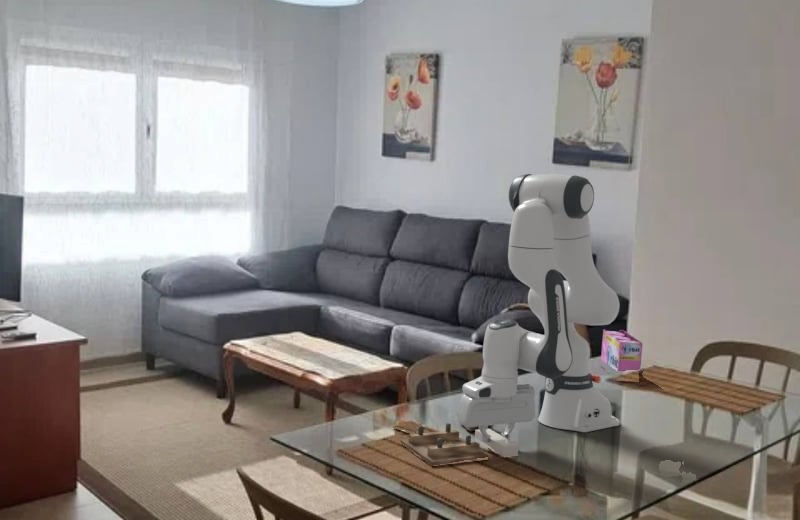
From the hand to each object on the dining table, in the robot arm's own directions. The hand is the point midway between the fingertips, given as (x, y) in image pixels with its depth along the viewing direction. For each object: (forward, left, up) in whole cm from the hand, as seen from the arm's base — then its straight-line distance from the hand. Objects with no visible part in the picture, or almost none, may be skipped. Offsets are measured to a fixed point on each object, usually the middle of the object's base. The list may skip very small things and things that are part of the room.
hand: (495, 441), depth 215 cm
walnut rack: (+14, -1, -2) cm, 14 cm away
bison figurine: (-2, -16, -2) cm, 16 cm away
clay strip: (0, 0, -2) cm, 2 cm away
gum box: (-84, -56, -2) cm, 101 cm away
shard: (+13, -19, -2) cm, 23 cm away
